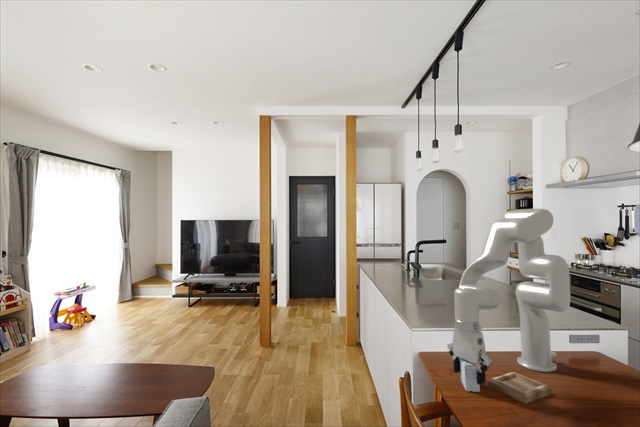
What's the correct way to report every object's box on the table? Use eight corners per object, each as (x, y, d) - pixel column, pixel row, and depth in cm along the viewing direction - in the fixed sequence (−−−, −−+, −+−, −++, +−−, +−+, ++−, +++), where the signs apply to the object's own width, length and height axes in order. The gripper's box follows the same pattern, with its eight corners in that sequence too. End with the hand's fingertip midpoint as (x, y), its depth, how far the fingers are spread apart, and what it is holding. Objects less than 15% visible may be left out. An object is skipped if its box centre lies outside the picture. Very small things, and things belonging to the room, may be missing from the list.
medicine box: (480, 392, 105) (479, 365, 106) (465, 391, 106) (464, 364, 107) (473, 381, 113) (472, 355, 113) (460, 380, 114) (459, 355, 114)
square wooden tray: (513, 377, 115) (513, 370, 115) (551, 393, 104) (551, 385, 104) (488, 386, 109) (487, 378, 110) (525, 403, 98) (524, 395, 98)
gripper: (498, 330, 104) (500, 386, 103) (454, 317, 120) (456, 365, 119) (481, 334, 101) (484, 391, 100) (439, 320, 117) (441, 369, 116)
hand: (469, 377), depth 110 cm, fingers closed on medicine box, 9 cm apart
